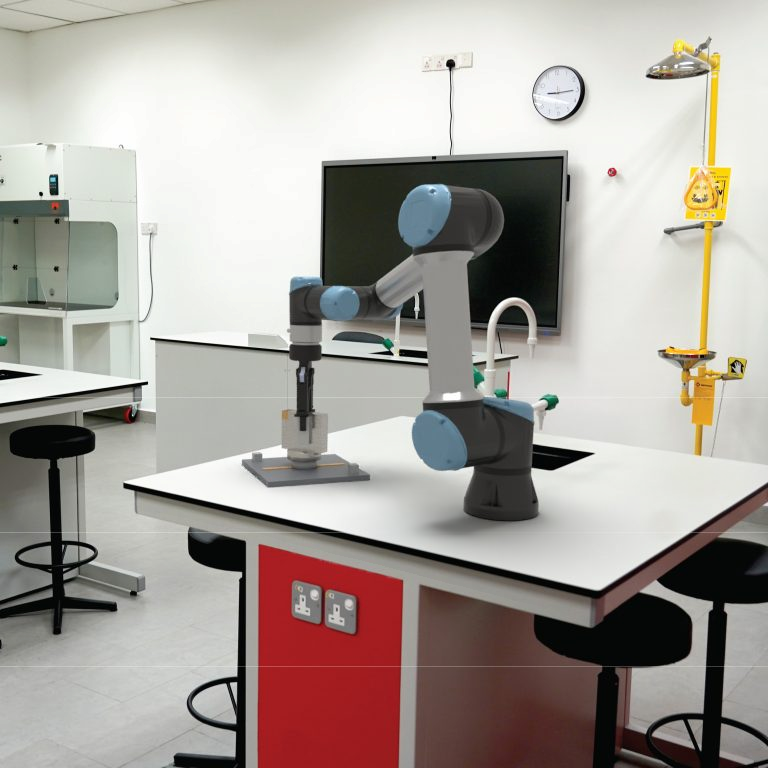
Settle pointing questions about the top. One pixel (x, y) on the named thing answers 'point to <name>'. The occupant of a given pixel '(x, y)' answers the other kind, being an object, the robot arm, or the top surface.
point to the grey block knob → (316, 436)
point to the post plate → (303, 470)
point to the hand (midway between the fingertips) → (304, 442)
